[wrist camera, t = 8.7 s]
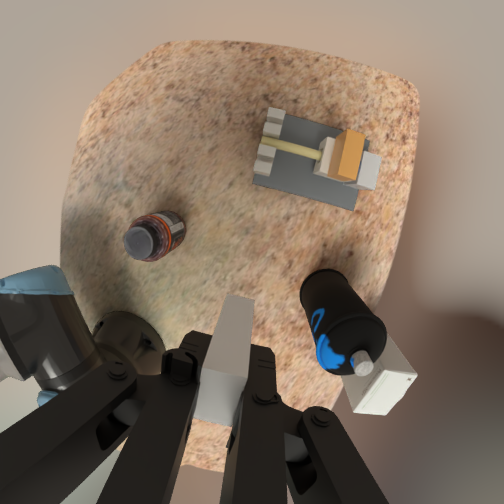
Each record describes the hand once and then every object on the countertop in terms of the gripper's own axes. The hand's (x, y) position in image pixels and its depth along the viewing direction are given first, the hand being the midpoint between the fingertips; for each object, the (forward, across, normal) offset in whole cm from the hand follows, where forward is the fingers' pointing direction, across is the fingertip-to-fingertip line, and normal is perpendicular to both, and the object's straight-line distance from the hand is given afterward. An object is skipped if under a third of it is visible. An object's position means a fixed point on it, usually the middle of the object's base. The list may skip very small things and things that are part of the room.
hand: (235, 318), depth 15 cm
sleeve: (+23, +8, +13) cm, 27 cm away
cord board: (+26, +6, +13) cm, 30 cm away
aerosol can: (+27, +13, -6) cm, 30 cm away
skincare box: (+27, +22, -13) cm, 37 cm away
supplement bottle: (+27, -13, -2) cm, 30 cm away
